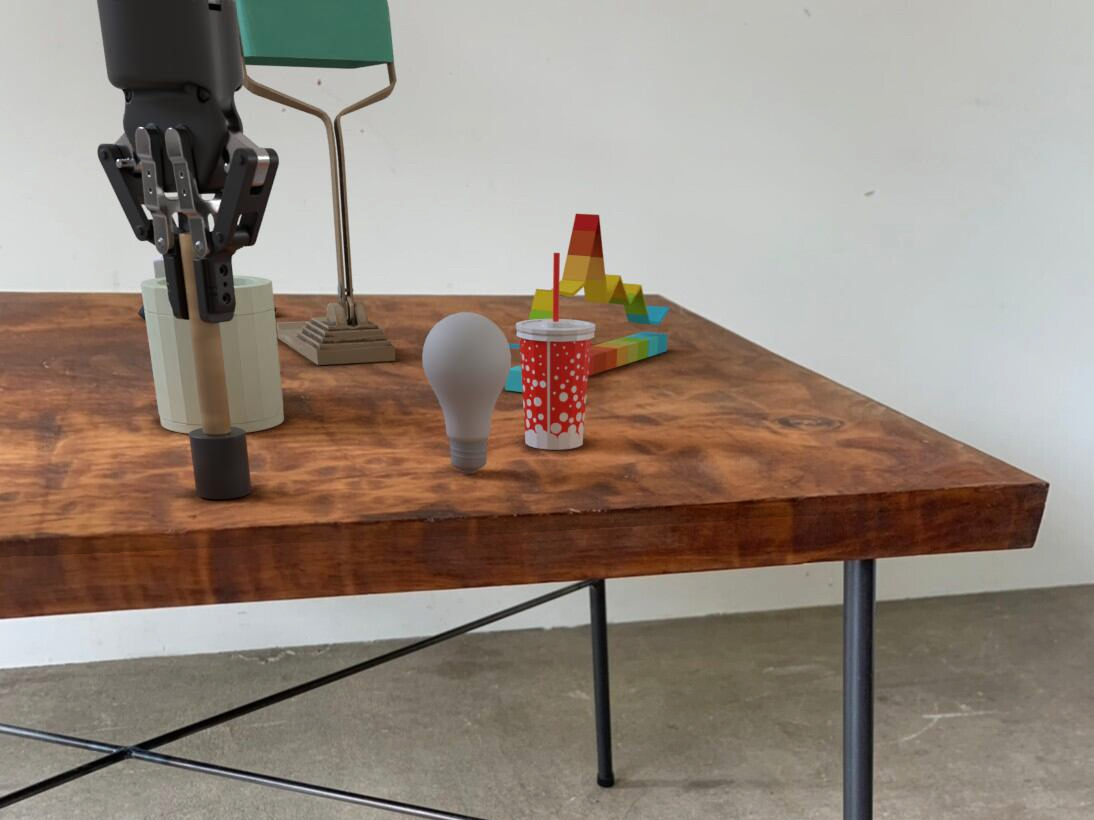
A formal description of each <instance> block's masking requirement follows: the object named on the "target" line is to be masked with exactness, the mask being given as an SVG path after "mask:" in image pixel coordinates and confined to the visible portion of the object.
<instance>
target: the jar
mask: <svg viewBox="0 0 1094 820" xmlns="http://www.w3.org/2000/svg"><path fill="white" fill-rule="evenodd" d="M233 280H234V289H235V293H234V294H235V299H236V306H235V312H234V316H233V319H232V320H231V321H228V322H221V323H219V325H220V334H221V343H222V352H223V361H224V370H225V379H226V388H227V397H228V406H229V415H230V424H231V427H237V428H241V429H244V430H245V432H246V434H247V433H248V434H249V433H254V432H260V431H264V430H269V429H272V428H274V427H277V426H279V425H281V424H282V423H284V420H285V416H284V415H285V414H284V399H283V398H284V397H283V387H282V377H281V367H280V365H281V364H280V355H279V344H278V333H277V322H276V312H275V310H274V307H275V299H274V290H273V281H272V280H271V279H268V278H265V277H260V276H253V275H252V276H250V275H237V274H233ZM140 289H141V297H142V303H143V304H142V305H144V309H145V310H144V312H145V319H144V320H145V325H146V333H147V340H148V347H149V353H150V361H151V369H152V375H153V382H154V390H155V391H154V392H155V395H156V396H155V397H156V405H157V409H158V410H157V411H158V416H159V421H160V425H161V426H162V427H163V428H164V429H165V430H168V431H171V432H174V433H175V432H176V433H178V434H179V433H180V434H188V435H189V433H190V432H191V431H193V430H196V429H199V428H202V420H201V412H200V404H199V396H198V388H197V379H196V371H195V363H194V355H193V347H192V339H191V330H190V322H189V320H183V319H177V318H176V317H175V316H174V315H173V311H172V307H171V305H170V302H169V299H168V289H167V282H166V277H162V278H155V277H154V278H149V279H145V280H143V281H142V282H140Z"/></svg>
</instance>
